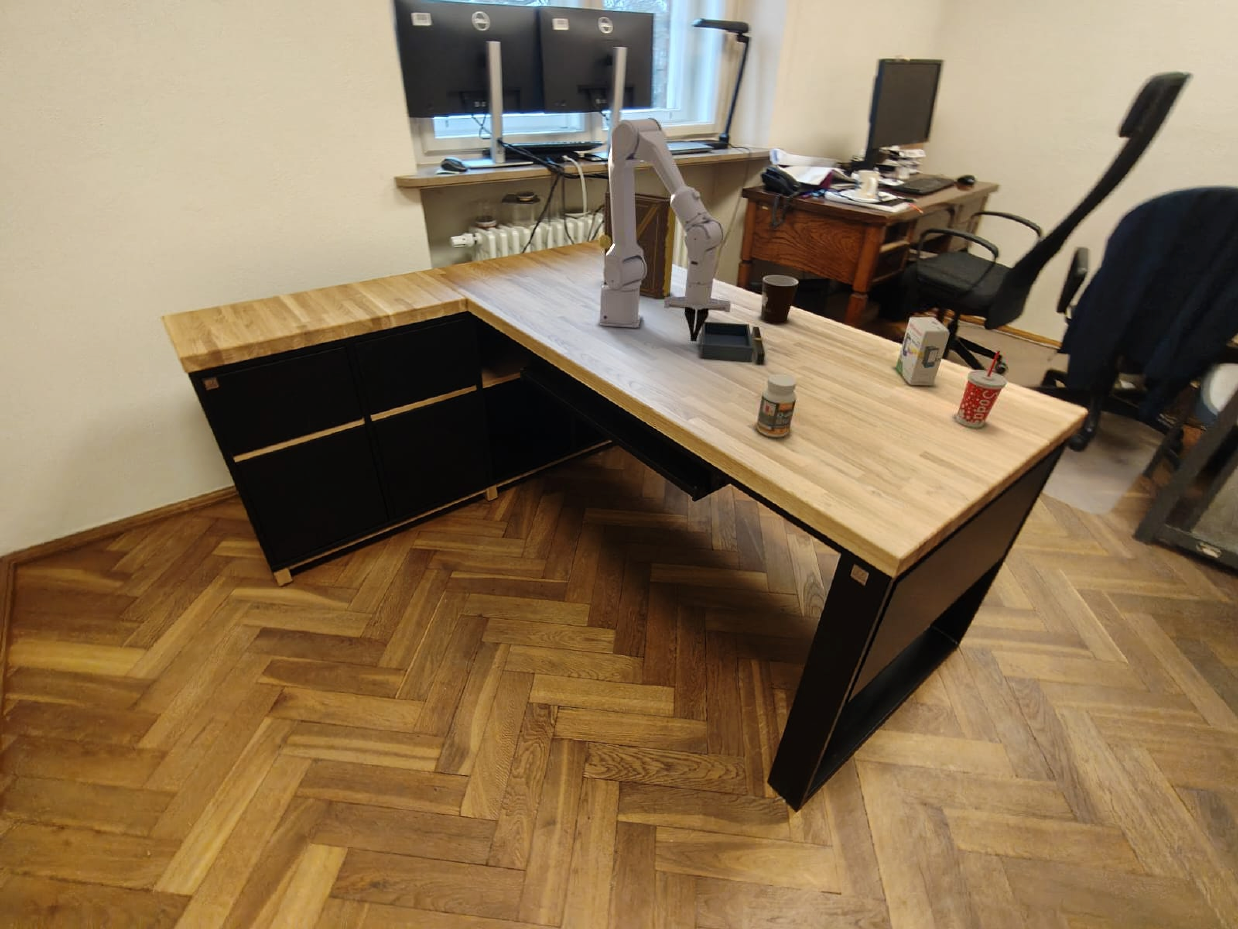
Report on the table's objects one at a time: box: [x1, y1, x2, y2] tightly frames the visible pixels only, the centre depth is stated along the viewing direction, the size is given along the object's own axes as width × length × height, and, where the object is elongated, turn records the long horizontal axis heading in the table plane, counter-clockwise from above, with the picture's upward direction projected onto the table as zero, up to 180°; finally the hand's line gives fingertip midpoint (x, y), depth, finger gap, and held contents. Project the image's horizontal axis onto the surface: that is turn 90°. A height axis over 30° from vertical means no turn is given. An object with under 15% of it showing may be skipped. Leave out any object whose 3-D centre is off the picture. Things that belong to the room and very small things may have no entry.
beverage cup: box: [955, 349, 1008, 429], centre depth 104 cm, size 6×6×14 cm
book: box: [598, 191, 677, 300], centre depth 160 cm, size 22×8×25 cm, turn 58°
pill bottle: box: [756, 373, 797, 438], centre depth 101 cm, size 6×6×10 cm
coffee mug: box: [760, 274, 799, 325], centre depth 148 cm, size 12×9×10 cm
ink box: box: [895, 316, 951, 386], centre depth 120 cm, size 9×5×12 cm, turn 178°
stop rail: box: [751, 326, 766, 365], centre depth 133 cm, size 2×16×3 cm, turn 173°
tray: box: [700, 321, 754, 363], centre depth 133 cm, size 11×14×3 cm
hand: (693, 339), depth 134 cm, fingers closed
